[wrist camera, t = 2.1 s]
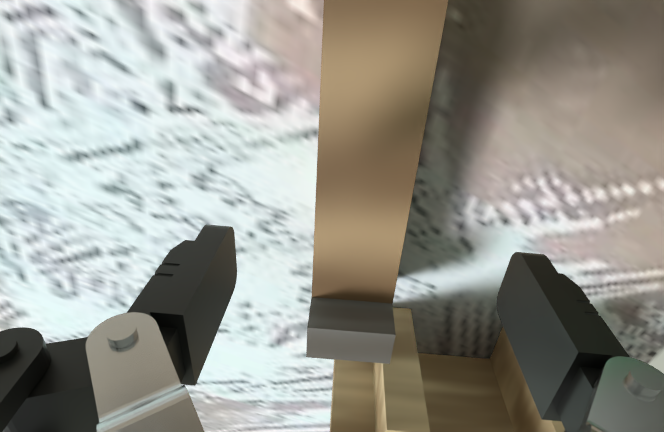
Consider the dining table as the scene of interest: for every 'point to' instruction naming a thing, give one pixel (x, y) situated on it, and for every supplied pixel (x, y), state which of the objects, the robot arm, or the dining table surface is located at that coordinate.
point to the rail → (367, 166)
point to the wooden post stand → (434, 391)
